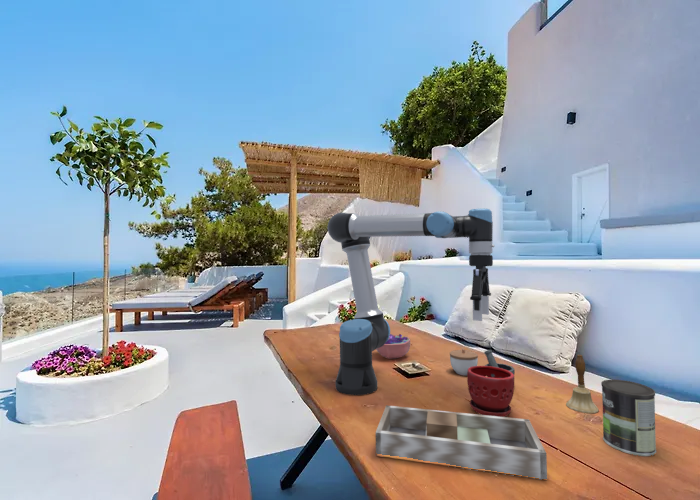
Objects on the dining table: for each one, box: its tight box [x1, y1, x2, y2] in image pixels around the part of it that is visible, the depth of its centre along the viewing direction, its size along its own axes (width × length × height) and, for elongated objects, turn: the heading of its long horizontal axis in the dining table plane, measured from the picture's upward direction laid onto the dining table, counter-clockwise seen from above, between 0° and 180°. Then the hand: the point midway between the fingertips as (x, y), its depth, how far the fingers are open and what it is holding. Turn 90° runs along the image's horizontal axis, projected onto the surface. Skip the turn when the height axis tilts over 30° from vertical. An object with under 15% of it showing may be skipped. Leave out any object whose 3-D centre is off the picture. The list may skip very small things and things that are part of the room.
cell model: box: [375, 333, 411, 360], centre depth 162 cm, size 17×20×11 cm
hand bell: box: [565, 354, 600, 414], centre depth 106 cm, size 8×8×16 cm
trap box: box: [375, 405, 548, 480], centre depth 84 cm, size 36×15×6 cm, turn 75°
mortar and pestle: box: [483, 349, 516, 378], centre depth 124 cm, size 11×9×12 cm
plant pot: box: [466, 365, 515, 417], centre depth 104 cm, size 13×13×12 cm
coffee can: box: [601, 379, 657, 457], centre depth 85 cm, size 10×10×14 cm
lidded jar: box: [449, 348, 479, 376], centre depth 139 cm, size 11×11×9 cm
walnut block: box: [426, 411, 458, 440], centre depth 85 cm, size 7×7×4 cm
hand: (481, 317), depth 117 cm, fingers open, 13 cm apart
